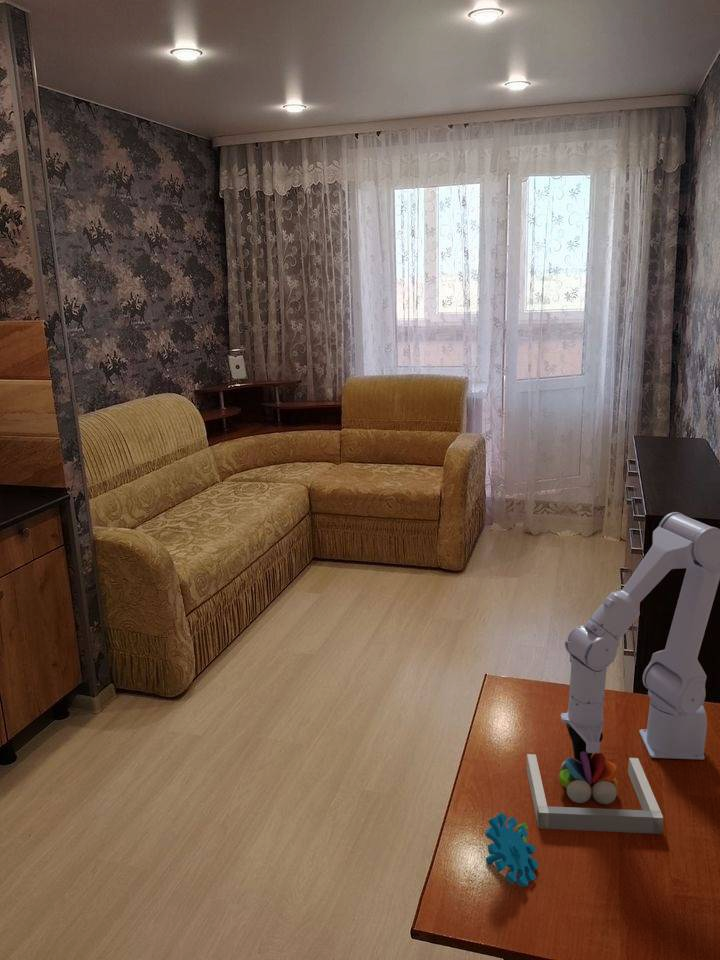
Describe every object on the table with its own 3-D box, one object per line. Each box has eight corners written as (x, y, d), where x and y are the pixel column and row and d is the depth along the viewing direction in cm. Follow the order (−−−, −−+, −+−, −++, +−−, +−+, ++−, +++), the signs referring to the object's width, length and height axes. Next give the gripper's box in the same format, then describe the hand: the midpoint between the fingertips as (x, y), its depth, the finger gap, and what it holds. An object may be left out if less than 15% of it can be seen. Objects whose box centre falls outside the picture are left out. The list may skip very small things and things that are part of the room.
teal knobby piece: (525, 898, 104) (482, 832, 106) (494, 911, 106) (453, 847, 109) (552, 856, 113) (512, 796, 115) (523, 869, 116) (484, 810, 118)
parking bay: (636, 772, 131) (638, 758, 130) (661, 833, 117) (663, 817, 116) (526, 768, 132) (527, 754, 131) (538, 828, 118) (539, 812, 118)
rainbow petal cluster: (622, 809, 122) (626, 772, 120) (562, 807, 123) (565, 769, 121) (610, 775, 130) (614, 739, 128) (554, 773, 131) (556, 737, 129)
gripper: (555, 671, 134) (551, 736, 138) (570, 718, 121) (565, 789, 124) (595, 672, 134) (590, 737, 138) (615, 720, 120) (608, 791, 124)
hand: (581, 762), depth 131 cm, fingers closed
